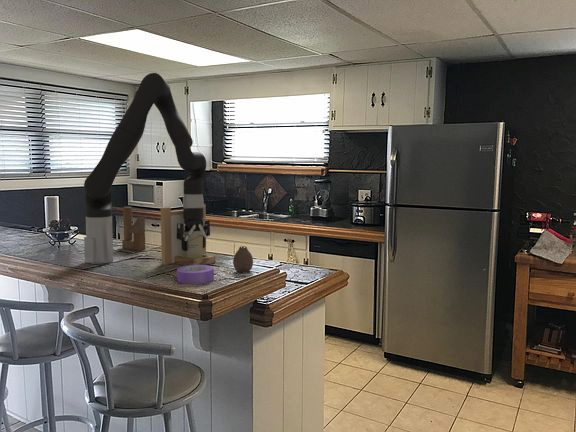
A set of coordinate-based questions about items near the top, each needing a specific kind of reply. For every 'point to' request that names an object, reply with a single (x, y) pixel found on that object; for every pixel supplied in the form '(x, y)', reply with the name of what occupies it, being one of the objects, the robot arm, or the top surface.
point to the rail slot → (195, 260)
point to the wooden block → (133, 231)
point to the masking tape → (195, 274)
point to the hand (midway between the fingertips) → (193, 249)
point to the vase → (243, 260)
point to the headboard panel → (172, 234)
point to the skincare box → (195, 245)
